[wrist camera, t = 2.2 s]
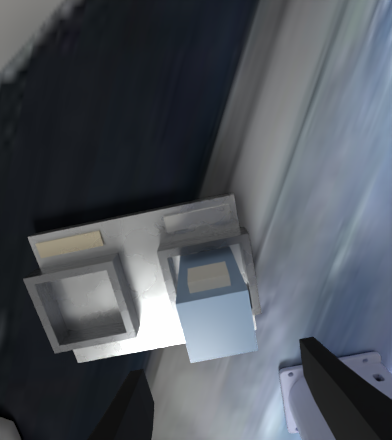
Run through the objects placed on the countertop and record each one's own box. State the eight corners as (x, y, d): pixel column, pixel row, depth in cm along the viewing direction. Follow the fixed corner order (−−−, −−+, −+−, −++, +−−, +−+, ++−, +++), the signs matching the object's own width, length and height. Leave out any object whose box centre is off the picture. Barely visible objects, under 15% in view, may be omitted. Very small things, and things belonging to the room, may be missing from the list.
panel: (236, 191, 20) (243, 197, 17) (257, 320, 23) (265, 341, 20) (31, 234, 20) (8, 245, 18) (79, 354, 23) (65, 379, 21)
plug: (228, 238, 20) (246, 278, 14) (237, 291, 21) (258, 350, 15) (178, 248, 20) (172, 292, 14) (190, 300, 21) (190, 363, 15)
